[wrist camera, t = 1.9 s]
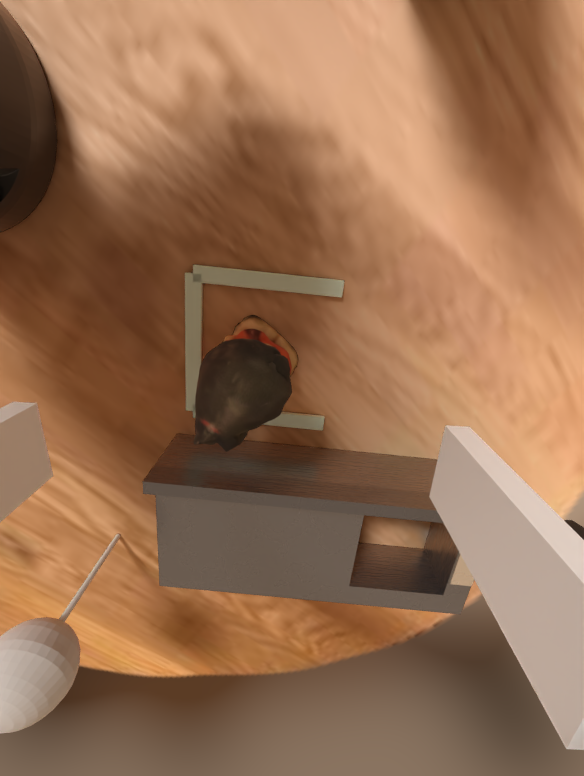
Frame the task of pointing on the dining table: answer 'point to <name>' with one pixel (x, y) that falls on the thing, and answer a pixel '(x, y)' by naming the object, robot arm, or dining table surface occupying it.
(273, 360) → the figurine
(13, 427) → the robot arm
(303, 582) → the grey box with compartment
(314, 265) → the dining table surface
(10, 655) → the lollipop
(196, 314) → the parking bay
